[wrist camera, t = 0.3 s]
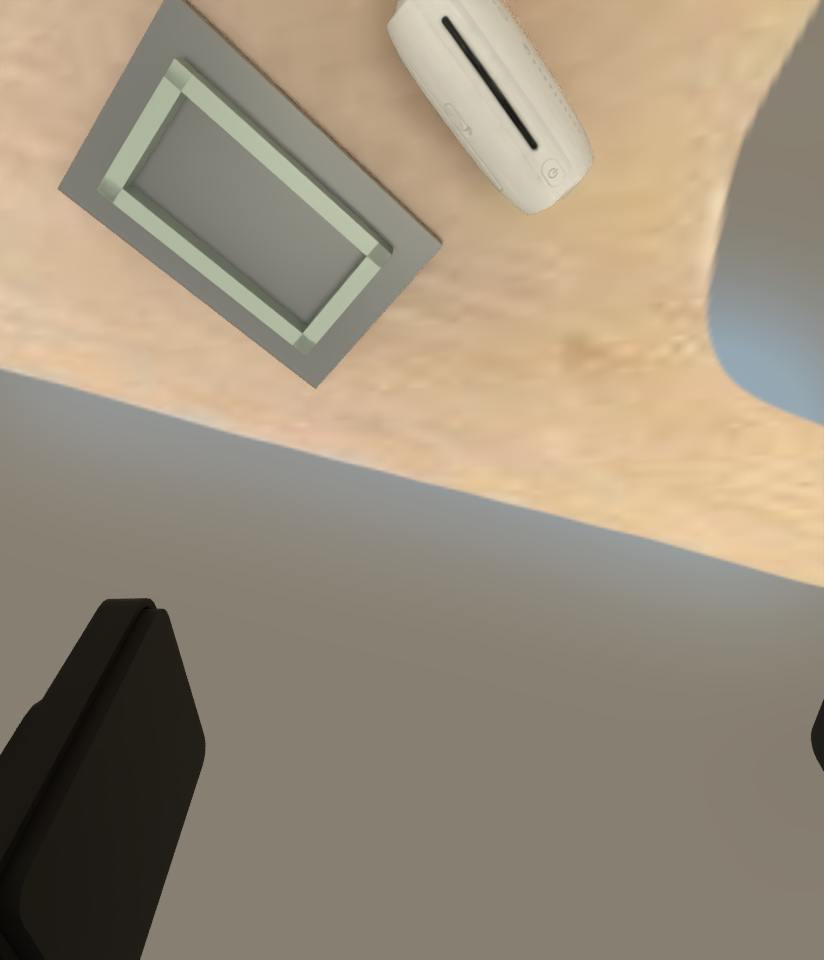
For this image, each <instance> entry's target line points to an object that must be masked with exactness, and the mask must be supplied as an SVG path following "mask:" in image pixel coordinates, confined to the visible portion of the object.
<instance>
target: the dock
mask: <svg viewBox="0 0 824 960" xmlns="http://www.w3.org/2000/svg"><path fill="white" fill-rule="evenodd" d="M58 190H59V191H61V192H62V193H63V194H65V195H66V196H67V197H69V198H70V199H71V200H72V201H74V202H75V203H76V204H78V205H79V206H80V207H81V208H83V209H84V210H85V211H87V212H88V213H89V214H90V215H92V216H93V217H94V218H96V219H97V220H98V221H99V222H101V223H102V224H103V225H105V226H106V227H107V228H109V229H110V230H111V231H112V232H114V233H115V234H116V235H118V236H119V237H120V238H121V239H123V240H124V241H125V242H127V243H128V244H129V245H130V246H132V247H133V248H134V249H136V250H137V251H138V252H139V253H141V254H142V255H143V256H145V257H146V258H147V259H148V260H150V261H151V262H152V263H154V264H155V265H156V266H158V267H159V268H160V269H161V270H163V271H164V272H165V273H167V274H168V275H169V276H170V277H172V278H173V279H174V280H176V281H177V282H178V283H179V284H181V285H182V286H183V287H185V288H186V289H187V290H188V291H190V292H191V293H192V294H194V295H195V296H196V297H198V298H199V299H200V300H201V301H203V302H204V303H205V304H207V305H208V306H209V307H210V308H212V309H213V310H214V311H216V312H217V313H218V314H219V315H221V316H222V317H223V318H225V319H226V320H227V321H228V322H230V323H231V324H232V325H234V326H235V327H236V328H238V329H239V330H240V331H241V332H243V333H244V334H245V335H247V336H248V337H249V338H250V339H252V340H253V341H254V342H256V343H257V344H258V345H259V346H261V347H262V348H263V349H265V350H266V351H267V352H268V353H270V354H271V355H272V356H274V357H275V358H276V359H277V360H279V361H280V362H281V363H283V364H284V365H285V366H287V367H288V368H289V369H290V370H292V371H293V372H294V373H296V374H297V375H298V376H299V377H301V378H302V379H303V380H305V381H306V382H307V383H308V384H310V385H311V386H312V387H314V388H315V389H316V388H317V387H318V385H319V384H320V383H321V382H322V381H323V380H324V379H325V378H326V376H327V375H328V374H329V373H330V372H331V371H332V370H333V369H334V367H335V366H336V365H337V364H338V363H339V362H340V361H341V360H342V358H343V357H344V356H345V355H346V354H347V353H348V352H349V351H350V349H351V348H352V347H353V346H354V345H355V344H356V343H357V341H358V340H359V339H360V338H361V337H362V336H363V335H364V334H365V332H366V331H367V330H368V329H369V328H370V327H371V326H372V325H373V323H374V322H375V321H376V320H377V319H378V318H379V317H380V316H381V314H382V313H383V312H384V311H385V310H386V309H387V308H388V306H389V305H390V304H391V303H392V302H393V301H394V300H395V299H396V297H397V296H398V295H399V294H400V293H401V292H402V291H403V290H404V288H405V287H406V286H407V285H408V284H409V283H410V282H411V281H412V279H413V278H414V277H415V276H416V275H417V274H418V273H419V271H420V270H421V269H422V268H423V267H424V266H425V265H426V264H427V262H428V261H429V260H430V259H431V258H432V257H433V256H434V255H435V253H436V252H437V251H438V250H439V249H440V248H441V247H442V242H441V241H440V240H439V239H438V238H437V237H436V236H435V235H434V234H433V233H432V232H431V231H430V230H429V229H428V228H427V227H426V226H424V225H423V224H422V223H421V222H420V221H419V220H418V219H417V218H416V217H415V216H414V215H413V214H412V213H411V212H410V211H409V210H408V209H406V208H405V207H404V206H403V205H402V204H401V203H400V202H399V201H398V200H397V199H396V198H395V197H394V196H393V195H392V194H391V193H390V192H388V191H387V190H386V189H385V188H384V187H383V186H382V185H381V184H380V183H379V182H378V181H377V180H376V179H375V178H374V177H373V176H371V175H370V174H369V173H368V172H367V171H366V170H365V169H364V168H363V167H362V166H361V165H360V164H359V163H358V162H357V161H356V160H355V159H353V158H352V157H351V156H350V155H349V154H348V153H347V152H346V151H345V150H344V149H343V148H342V147H341V146H340V145H339V144H338V143H337V142H335V141H334V140H333V139H332V138H331V137H330V136H329V135H328V134H327V133H326V132H325V131H324V130H323V129H322V128H321V127H320V126H318V125H317V124H316V123H315V122H314V121H313V120H312V119H311V118H310V117H309V116H308V115H307V114H306V113H305V112H304V111H303V110H302V109H300V108H299V107H298V106H297V105H296V104H295V103H294V102H293V101H292V100H291V99H290V98H289V97H288V96H287V95H286V94H285V93H283V92H282V91H281V90H280V89H279V88H278V87H277V86H276V85H275V84H274V83H273V82H272V81H271V80H270V79H269V78H268V77H267V76H265V75H264V74H263V73H262V72H261V71H260V70H259V69H258V68H257V67H256V66H255V65H254V64H253V63H252V62H251V61H250V60H249V59H247V58H246V57H245V56H244V55H243V54H242V53H241V52H240V51H239V50H238V49H237V48H236V47H235V46H234V45H233V44H232V43H230V42H229V41H228V40H227V39H226V38H225V37H224V36H223V35H222V34H221V33H220V32H219V31H218V30H217V29H216V28H215V27H214V26H212V25H211V24H210V23H209V22H208V21H207V20H206V19H205V18H204V17H203V16H202V15H201V14H200V13H199V12H198V11H197V10H195V9H194V8H193V7H192V6H191V5H190V4H189V3H188V2H187V1H186V0H164V1H163V3H162V5H161V7H160V8H159V10H158V12H157V14H156V16H155V17H154V19H153V21H152V23H151V24H150V26H149V28H148V30H147V31H146V33H145V35H144V37H143V38H142V40H141V42H140V44H139V46H138V47H137V49H136V51H135V53H134V54H133V56H132V58H131V60H130V61H129V63H128V65H127V67H126V69H125V70H124V72H123V74H122V76H121V77H120V79H119V81H118V83H117V84H116V86H115V88H114V90H113V92H112V93H111V95H110V97H109V99H108V100H107V102H106V104H105V106H104V107H103V109H102V111H101V113H100V115H99V116H98V118H97V120H96V122H95V123H94V125H93V127H92V129H91V130H90V132H89V134H88V136H87V138H86V139H85V141H84V143H83V145H82V146H81V148H80V150H79V152H78V153H77V155H76V157H75V159H74V160H73V162H72V164H71V166H70V168H69V169H68V171H67V173H66V175H65V176H64V178H63V180H62V182H61V183H60V185H59V187H58Z"/></svg>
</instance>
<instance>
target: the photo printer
mask: <svg viewBox="0 0 824 960" xmlns="http://www.w3.org/2000/svg"><path fill="white" fill-rule="evenodd" d="M386 28H387V31H388V33H389V36H390V38H391V40H392V42H393V44H394V46H395V48H396V51H397V53H398V55H399V56H400V58H401V60H402V62H403V63H404V65H405V66H406V68H407V69H408V70H409V72H410V75H411V76H412V77H413V78H414V79H415V81H416V83H417V84H418V86H419V87H420V88H421V90H422V91H423V93H424V94H425V96H426V97H427V98H428V100H429V101H430V103H431V104H432V105H433V107H434V108H435V110H436V111H437V112H438V114H439V115H440V116H441V118H442V119H443V121H444V122H445V123H446V125H447V126H448V127H449V129H450V130H451V131H452V133H453V134H454V135H455V137H456V138H457V140H458V141H459V142H460V143H461V145H462V146H463V147H464V149H465V150H466V151H467V152H468V154H469V155H470V156H471V158H472V159H473V160H474V161H475V163H476V164H477V165H478V167H479V168H480V169H481V170H482V171H483V173H484V174H485V175H486V176H487V178H488V179H489V180H490V181H491V182H492V184H493V185H494V186H495V187H496V188H497V189H498V190H499V191H500V192H501V193H502V194H503V195H504V196H505V197H506V198H507V199H508V200H509V201H510V202H511V203H512V204H513V205H514V206H515V207H517V208H518V209H519V210H521V211H522V212H523V213H525V214H527V215H531V214H535V213H538V212H540V211H542V210H544V209H546V208H548V207H550V206H551V205H553V204H554V203H555V202H556V201H558V200H559V199H561V198H562V197H563V196H565V195H566V194H567V193H568V192H569V191H570V190H571V189H572V188H573V187H574V186H575V185H576V184H577V183H578V182H579V181H580V180H581V179H582V178H583V177H584V175H585V174H586V173H587V171H588V170H589V168H590V166H591V165H592V162H593V158H594V157H593V153H592V149H591V146H590V143H589V140H588V138H587V135H586V133H585V131H584V129H583V127H582V125H581V123H580V121H579V119H578V117H577V116H576V114H575V112H574V110H573V109H572V107H571V105H570V104H569V102H568V100H567V99H566V97H565V95H564V93H563V92H562V90H561V89H560V87H559V85H558V84H557V82H556V81H555V79H554V77H553V76H552V74H551V73H550V71H549V70H548V68H547V66H546V65H545V63H544V62H543V60H542V59H541V57H540V56H539V54H538V53H537V51H536V50H535V48H534V47H533V45H532V44H531V42H530V41H529V39H528V38H527V36H526V35H525V33H524V32H523V30H522V29H521V28H520V26H519V25H518V23H517V22H516V21H515V19H514V18H513V16H512V15H511V13H510V12H509V11H508V9H507V8H506V6H505V5H504V4H503V2H502V1H501V0H398V2H397V6H396V11H395V14H394V15H393V17H392V18H391V19H390V21H389V22H388V24H387V26H386Z"/></svg>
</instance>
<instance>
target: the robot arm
mask: <svg viewBox="0 0 824 960" xmlns="http://www.w3.org/2000/svg"><path fill="white" fill-rule="evenodd" d="M811 742H812V748H813V751H814V754H815V756H816V758H817V760H818V762H819V763H820V765H821V767H822V769H823V771H824V700H823V703H822V705H821V708H820V710H819V713H818V715H817V718H816V721H815V723H814V725H813V728H812V732H811ZM204 757H205V737H204V733H203V730H202V726H201V723H200V720H199V716H198V713H197V709H196V706H195V703H194V699H193V696H192V692H191V689H190V686H189V682H188V679H187V676H186V672H185V669H184V666H183V662H182V659H181V655H180V652H179V649H178V645H177V642H176V639H175V635H174V632H173V629H172V625H171V622H170V618H169V615H168V613H167V611H166V610H165V609H157V608H156V606H155V604H154V602H153V601H152V600H151V599H147V598H139V599H138V598H137V599H107V600H105V601H103V603H102V604H101V605H100V606H99V608H98V609H97V611H96V612H95V614H94V616H93V618H92V619H91V621H90V622H89V624H88V625H87V627H86V629H85V631H84V632H83V634H82V635H81V637H80V639H79V640H78V642H77V643H76V645H75V647H74V648H73V650H72V652H71V653H70V655H69V656H68V658H67V660H66V661H65V663H64V665H63V666H62V668H61V669H60V671H59V673H58V674H57V676H56V678H55V679H54V681H53V682H52V684H51V686H50V687H49V689H48V691H47V692H46V694H45V696H44V697H43V699H42V700H40V701H39V702H38V703H36V704H34V705H33V706H32V707H31V709H30V710H29V711H28V713H27V714H26V715H25V717H24V718H23V720H22V721H21V723H20V724H19V726H18V728H17V729H16V731H15V732H14V734H13V736H12V737H11V739H10V740H9V742H8V744H7V745H6V747H5V748H4V750H3V752H2V753H1V755H0V960H140V958H141V955H142V952H143V949H144V946H145V942H146V939H147V936H148V933H149V929H150V927H151V924H152V920H153V917H154V914H155V911H156V908H157V905H158V902H159V899H160V896H161V893H162V890H163V886H164V883H165V880H166V877H167V874H168V871H169V868H170V865H171V862H172V859H173V856H174V852H175V849H176V846H177V843H178V840H179V837H180V834H181V831H182V828H183V825H184V821H185V818H186V815H187V812H188V809H189V806H190V803H191V800H192V797H193V794H194V790H195V787H196V784H197V781H198V778H199V775H200V772H201V769H202V766H203V762H204Z"/></svg>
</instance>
